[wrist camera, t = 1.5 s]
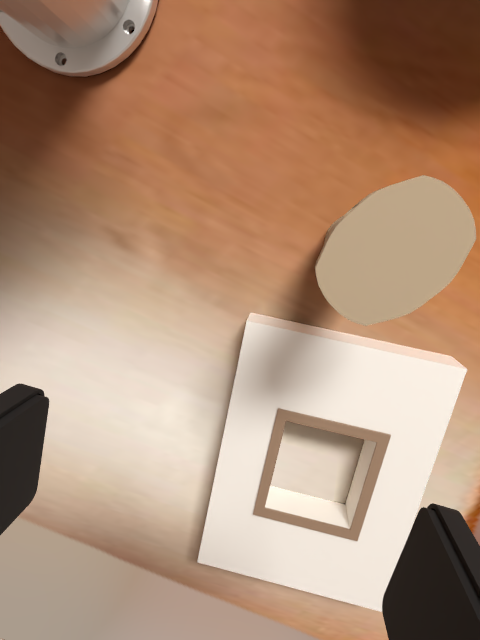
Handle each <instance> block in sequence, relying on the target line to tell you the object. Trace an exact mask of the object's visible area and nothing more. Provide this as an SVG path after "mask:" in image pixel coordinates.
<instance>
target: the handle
mask: <svg viewBox="0 0 480 640" xmlns="http://www.w3.org/2000/svg"><path fill="white" fill-rule="evenodd" d="M475 240H476V228H475V223H474V218H473V216H472V214H471V212H470V209H469V207H468V206H467V205H466V203H465V202H464V200H463V199H462V197H461V196H460V195H459V194H458V193H457V192H456V191H455V190H454V189H453V188H451V187H450V186H449V185H447V184H446V183H444V182H443V181H440V180H438V179H435V178H433V177H428V176H424V175H423V176H419V177H416V178H413V179H409V180H406V181H403V182H400V183H397V184H393V185H390V186H387V187H385V188H382V189H380V190H377V191H375V192H373V193H371V194H369V195H368V196H366V197H365V198H364V199H362V200H361V201H360V202H359V203H358V204H357V205H355V206H354V207H353V208H352V209H351V210H350V211H348V212H347V213H346V214H345V215H344V216H342V217H340V218H339V219H338V220H336V221H335V222H334V223H333V224H332V225H331V226H330V228H329V229H328V231H327V233H326V236H325V241H324V246H323V248H322V250H321V252H320V255H319V257H318V259H317V262H316V264H315V274H316V278H317V282H318V285H319V287H320V289H321V291H322V293H323V295H324V297H325V298H326V300H327V301H328V302H329V304H330V305H331V306H332V307H333V308H334V309H335V310H336V311H337V312H338V313H339V314H341V315H342V316H344V317H345V318H346V319H348V320H350V321H352V322H355V323H357V324H361V325H365V326H367V325H371V324H375V323H380V322H384V321H388V320H391V319H395V318H399V317H401V316H404V315H407V314H409V313H411V312H413V311H414V310H416V309H417V308H419V307H421V306H422V305H423V304H425V303H426V302H427V301H428V300H430V299H431V298H432V297H434V296H435V295H436V294H438V293H439V292H440V291H441V290H443V289H444V288H445V287H446V286H447V285H448V284H449V283H450V282H451V281H452V280H453V278H454V277H455V275H456V274H457V273H458V271H459V270H460V268H461V266H462V264H463V262H464V261H465V259H466V257H467V255H468V253H469V251H470V250H471V248H472V246H473V244H474V242H475Z"/></svg>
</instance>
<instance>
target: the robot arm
mask: <svg viewBox="0 0 480 640" xmlns="http://www.w3.org/2000/svg"><path fill="white" fill-rule="evenodd" d="M157 3H158V0H0V26H1V28H2V29H3V31H4V33H5V34H6V35H7V37H8V38H9V39H10V40H11V42H12V43H13V44H14V45H15V46H16V47H17V48H18V49H19V50H20V51H21V52H22V53H23V54H24V55H26V56H27V57H28V58H29V59H31V60H33V61H34V62H36V63H37V64H39V65H40V66H42V67H44V68H46V69H48V70H50V71H53V72H55V73H58V74H63V75H67V76H83V77H86V76H90V75H95V74H100V73H102V72H105V71H107V70H109V69H111V68H113V67H115V66H117V65H118V64H119V63H121V62H122V61H123V60H125V59H126V58H127V57H129V55H130V54H131V53H132V52H133V51H134V50H135V49H136V48H137V47H138V45H139V44H140V43H141V41H142V40H143V38H144V36H145V35H146V33H147V31H148V30H149V28H150V25H151V22H152V20H153V17H154V15H155V12H156V8H157ZM133 29H134V32H133V33H131V30H133ZM65 62H66V64H65ZM48 408H49V399H48V398H47V397H44V391H43V390H41V389H38V388H34V387H31V386H27V385H24V384H17V385H15V386H13V387H11V388H10V389H8V390H6V391H4V392H3V393H1V394H0V535H1V534H2V533H3V532H4V531H5V530H6V529H7V527H8V526H9V525H10V524H11V523H12V522H13V521H14V520H15V519H16V518H17V517H18V516H19V515H20V514H21V512H22V511H23V510H24V509H25V508H26V507H27V506H28V505H29V504H30V503H31V501H32V500H33V498H34V496H35V494H36V491H37V486H38V479H39V472H40V465H41V458H42V450H43V443H44V436H45V429H46V422H47V415H48ZM382 612H383V617H384V621H385V625H386V630H387V634H388V638H389V640H480V546H479V544H478V542H477V541H476V539H475V537H474V536H473V534H472V532H471V530H470V529H469V527H468V525H467V524H466V522H465V520H464V518H463V517H462V515H461V514H460V512H459V511H457V510H454V509H450V508H447V507H444V506H440V505H437V504H430V505H429V506H428V508H424V507H423V508H421V509H420V511H419V512H418V515H417V517H416V519H415V522H414V524H413V527H412V529H411V531H410V534H409V536H408V538H407V541H406V543H405V546H404V548H403V550H402V553H401V555H400V557H399V560H398V562H397V565H396V567H395V569H394V572H393V574H392V576H391V579H390V581H389V583H388V586H387V588H386V591H385V593H384V596H383V601H382ZM0 640H4V639H1V638H0Z"/></svg>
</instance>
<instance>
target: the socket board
mask: <svg viewBox="0 0 480 640" xmlns="http://www.w3.org/2000/svg"><path fill="white" fill-rule="evenodd" d="M466 371H467V369H466V368H465V367H464V366H463V365H461V364H460V363H459V362H458V361H457V360H455V359H454V358H453V357H452V356H448V355H443V354H439V353H434V352H430V351H425V350H421V349H416V348H411V347H407V346H402V345H398V344H393V343H389V342H384V341H379V340H375V339H370V338H366V337H361V336H357V335H352V334H347V333H343V332H338V331H334V330H329V329H325V328H320V327H315V326H311V325H306V324H302V323H297V322H293V321H288V320H283V319H279V318H274V317H270V316H265V315H261V314H256V313H250V315H249V317H248V319H247V322H246V327H245V331H244V336H243V341H242V346H241V351H240V356H239V361H238V366H237V370H236V375H235V380H234V385H233V390H232V395H231V400H230V405H229V409H228V414H227V419H226V424H225V429H224V434H223V439H222V444H221V448H220V453H219V458H218V463H217V468H216V473H215V478H214V483H213V487H212V492H211V497H210V502H209V507H208V512H207V517H206V522H205V526H204V531H203V536H202V541H201V546H200V551H199V556H198V561H197V562H198V563H202V564H205V565H209V566H213V567H217V568H220V569H224V570H228V571H231V572H235V573H239V574H243V575H246V576H250V577H254V578H258V579H261V580H265V581H269V582H272V583H276V584H280V585H284V586H287V587H291V588H295V589H299V590H302V591H306V592H310V593H313V594H317V595H321V596H325V597H328V598H332V599H336V600H340V601H343V602H347V603H351V604H354V605H358V606H362V607H366V608H369V609H373V610H377V611H381V612H382V601H383V596H384V593H385V591H386V588H387V586H388V583H389V581H390V579H391V576H392V574H393V572H394V569H395V567H396V565H397V562H398V560H399V557H400V555H401V553H402V550H403V548H404V546H405V543H406V541H407V538H408V536H409V533H410V531H411V528H412V525H413V522H414V519H415V516H416V514H417V511H418V508H419V505H420V502H421V499H422V497H423V494H424V491H425V488H426V485H427V482H428V479H429V477H430V474H431V471H432V468H433V465H434V462H435V460H436V457H437V454H438V451H439V448H440V445H441V443H442V440H443V437H444V434H445V431H446V428H447V425H448V423H449V420H450V417H451V414H452V411H453V408H454V406H455V403H456V400H457V397H458V394H459V391H460V389H461V386H462V383H463V380H464V377H465V374H466ZM286 421H288V422H293V423H297V424H301V425H305V426H309V427H314V428H318V429H322V430H326V431H330V432H335V433H339V434H343V435H347V436H352V437H356V438H360V439H364V444H363V447H362V450H361V454H360V457H359V460H358V464H357V467H356V470H355V474H354V477H353V480H352V484H351V487H350V490H349V494H348V497H347V500H346V504H341V503H337V502H333V501H329V500H325V499H321V498H317V497H313V496H309V495H305V494H301V493H297V492H293V491H289V490H285V489H281V488H277V487H273V486H270V484H271V480H272V476H273V472H274V468H275V464H276V460H277V455H278V451H279V447H280V443H281V439H282V435H283V431H284V427H285V423H286Z"/></svg>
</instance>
